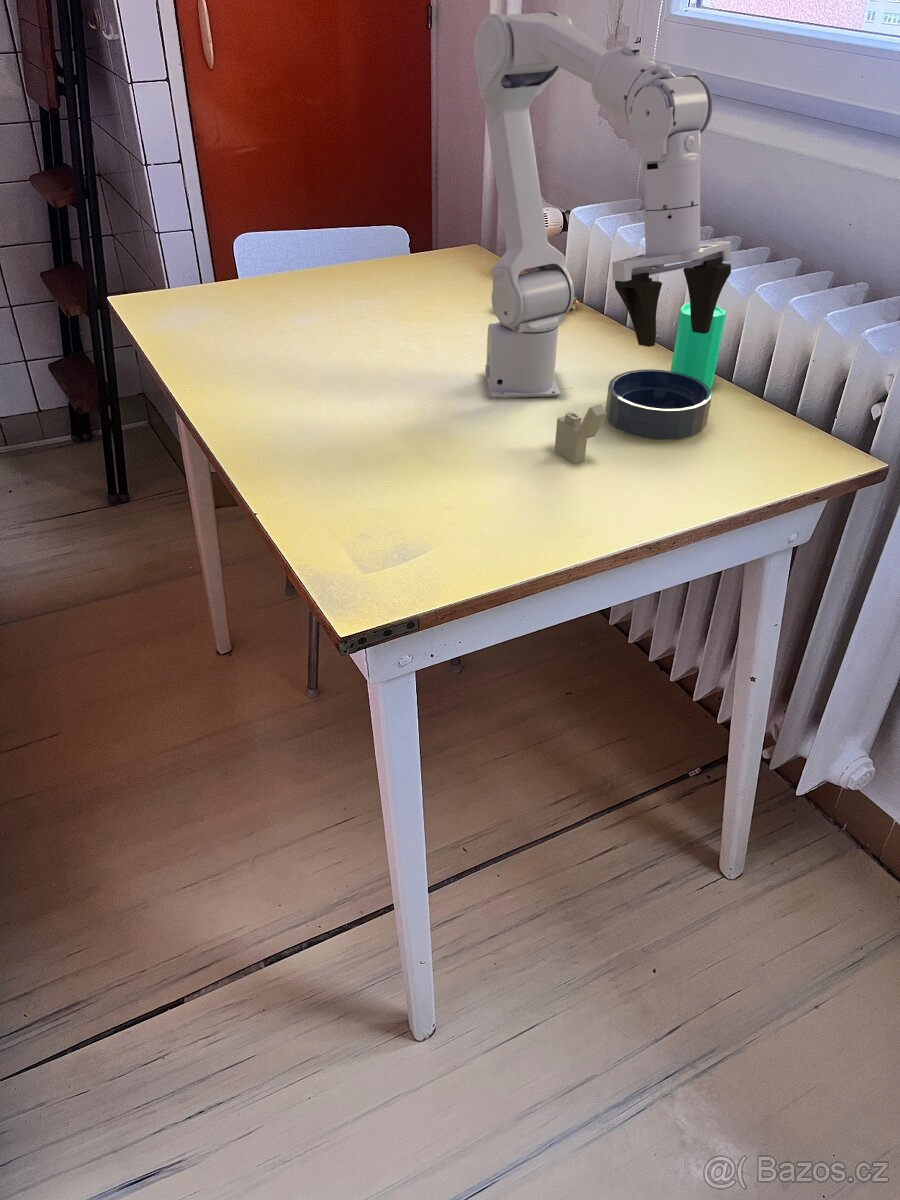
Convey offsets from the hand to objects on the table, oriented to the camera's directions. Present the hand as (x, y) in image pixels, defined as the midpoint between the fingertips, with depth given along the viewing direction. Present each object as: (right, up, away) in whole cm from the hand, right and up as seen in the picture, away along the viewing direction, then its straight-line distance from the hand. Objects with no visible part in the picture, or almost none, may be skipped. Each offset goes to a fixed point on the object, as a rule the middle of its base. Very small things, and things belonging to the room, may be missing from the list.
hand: (673, 338), depth 104 cm
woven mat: (-10, +19, +51) cm, 55 cm away
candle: (+9, +1, +27) cm, 29 cm away
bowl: (+2, -6, +17) cm, 18 cm away
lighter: (-10, -12, +8) cm, 18 cm away
